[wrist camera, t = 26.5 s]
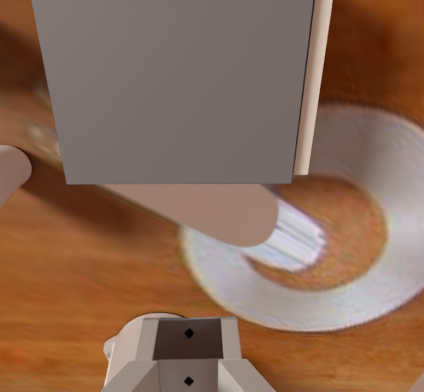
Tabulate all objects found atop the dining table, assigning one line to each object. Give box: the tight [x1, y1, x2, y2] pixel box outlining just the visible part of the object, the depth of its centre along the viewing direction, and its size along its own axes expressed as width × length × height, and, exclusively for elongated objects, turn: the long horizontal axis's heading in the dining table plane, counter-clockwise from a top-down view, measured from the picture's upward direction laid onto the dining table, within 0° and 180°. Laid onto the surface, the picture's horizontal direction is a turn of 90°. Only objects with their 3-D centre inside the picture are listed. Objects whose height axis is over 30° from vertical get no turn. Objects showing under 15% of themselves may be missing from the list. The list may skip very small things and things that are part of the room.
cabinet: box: [32, 0, 313, 184], centre depth 30 cm, size 18×18×16 cm
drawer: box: [292, 0, 333, 175], centre depth 30 cm, size 17×19×14 cm
